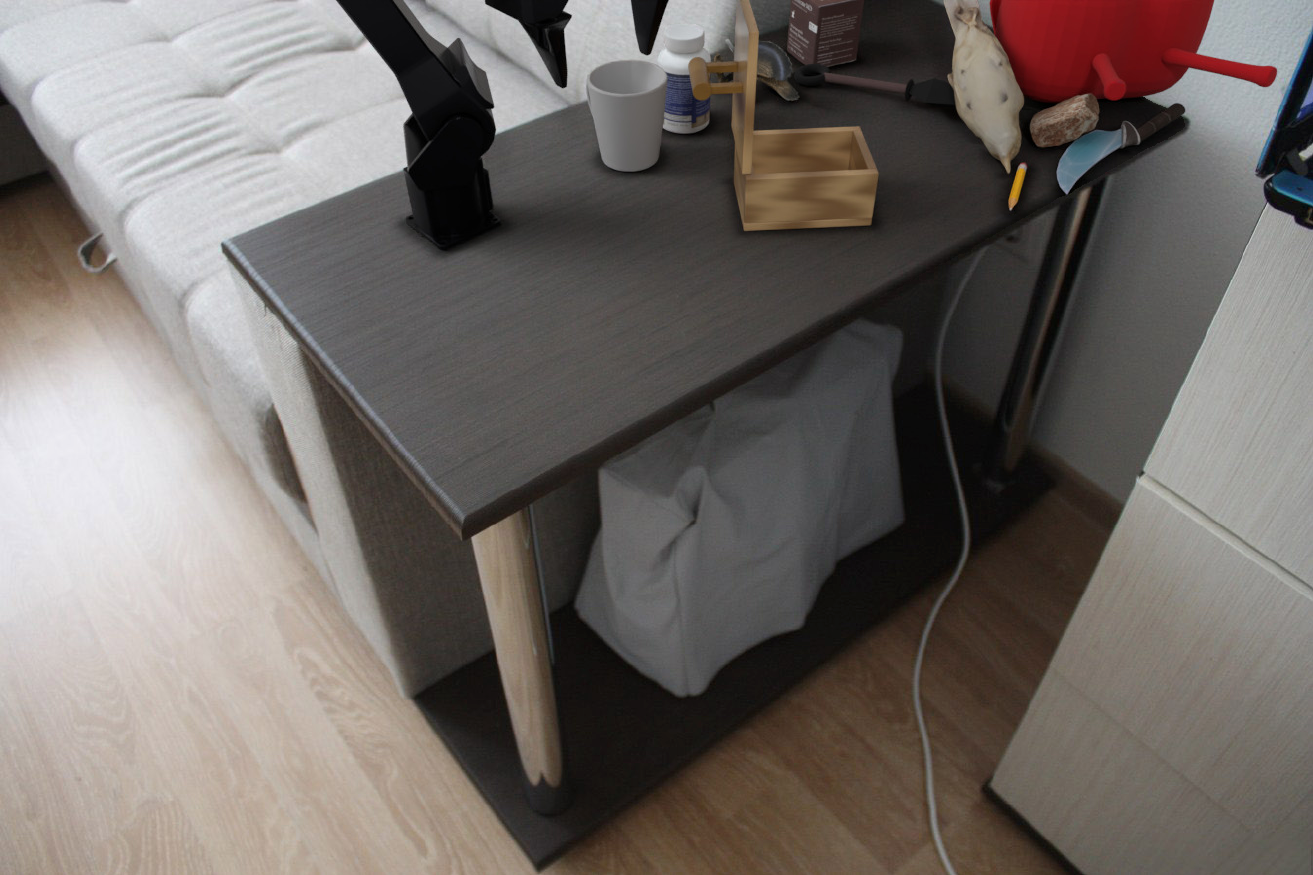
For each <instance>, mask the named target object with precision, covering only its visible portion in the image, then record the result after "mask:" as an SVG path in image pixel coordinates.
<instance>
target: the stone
mask: <svg viewBox="0 0 1313 875" xmlns="http://www.w3.org/2000/svg"><path fill="white" fill-rule="evenodd" d="M1099 107H1100V106H1099V102H1098V99H1096V97H1095V96H1094V95H1092V94H1091V93H1090V94H1084V95H1081V96H1080V95H1077V96H1075V97H1073V98H1070V99H1068V100H1065V101H1062V102H1061V103H1059V104H1055V105H1054V106H1051V107H1047V108H1044V109H1041V110H1042V111H1040V110H1039V111H1038V112H1037V113H1035V114H1033V116H1032V118H1031V120H1030V122H1029V131H1030V135H1031V138H1032V141H1033V142H1034V144H1035V145H1036V147H1039V148H1048V147H1050V148H1051V147H1057V146H1058V147H1059V146H1062V145H1063V144H1066V143H1069V142H1072V141H1076V140H1077V139H1079V138H1080V137H1082V135H1085V134H1087V133H1090V132H1092V131H1094V130H1095V129H1096V127H1097V123H1098V122H1099V119H1100V118H1099V117H1100V116H1099V114H1100V108H1099Z"/></svg>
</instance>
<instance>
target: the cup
mask: <svg viewBox="0 0 1313 875" xmlns="http://www.w3.org/2000/svg"><path fill="white" fill-rule="evenodd" d="M667 80H668V79H667V74H666V72H665V71H664V70H663V69H662V68H661V67H659V66H658V64H655V63H653V62H650V61H645V60H641V59H621V60H620V59H619V60H612V61H609V62H605V63H602V64H600V65H597V66H596V67H595V68H593V69H592V70H591V71H589V73H588V74H587V76H586V81H585V82H586V83H585V92H586V93H585V94H586V99H587V104H588V108H589V110H590V113H591V115H592V119H593V124H594V128H595V134H596V138H597V143H598V147H599V151H600V156H601V160H602V162H603V164H604V165H605V166H607V168H610V169H612V170H615V171H618V172H623V173H635V172H640V171H644V170H647V169H649V168H650V167H652V166H654V165H655V164H656V163H657V162H658V160H659V157H660V151H661V143H662V137H663V136H662V135H663V130H664V128H663V122H664V112H665V101H666V90H667Z"/></svg>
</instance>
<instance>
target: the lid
mask: <svg viewBox="0 0 1313 875" xmlns="http://www.w3.org/2000/svg"><path fill="white" fill-rule="evenodd" d="M734 26H735V27H734V28H735V29H734V47H735V49H734V54H733V60H730V61H724V62H714V61H711V62H706V61H705V60H704V59H703V58H701V57H695V58H693V59H691V60H690V62H689V64H688V69H689V75H690V81H691V86H692V92H693V96H694V97H695V98H696V99H697V100H706V99H708V98H709V97H710V98H711V95H728V94H729V95H732V105H731V130H732V134H733V139H734V145H735V144H736V149H737V153H738V157H739V162H740V166H741V171H742V174H751V168H752V150H753V132H754V131H755V110H756V95H757V94H756V92H757V81H756V77H757V59H758V41H760V38H759V37H760V31H759V28H758V25H757V21H756V19H755V15H754V12H753V8H752V6H751V2H750V0H736V1H735V25H734ZM731 72H734V75H733V80H732V81H730V82H728V83H719V82H711V83H710V79H709V74H708V73H711V74H715V73H731Z"/></svg>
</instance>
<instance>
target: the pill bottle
mask: <svg viewBox="0 0 1313 875" xmlns="http://www.w3.org/2000/svg"><path fill="white" fill-rule="evenodd" d="M705 37H706V36H705V29H704V28H703V27H702V26H700V25H697V24H695V23H688V22H683V23H682V22H681V23H680V22H679V23H674V24H671V25H668V26H667V27H666V28H665V29H664V31H663V44H664V47H665V48H663V49H662V50H661V51H660V53H659V54H658V55H657V56H658V57H657V65H658V66H659V67H661V68H662V69H663V70H664V71H665V72H666V74H667V79H668V80H667V90H666V101H665V112H664V122H663V130H665V131H667V132H670V133H674V134H682V135H683V134H684V135H685V134H694V133H697V132H700V131H702V130H704V129H705V128H707V126H708V125H709V124H710V115H711V96H710V97H709V98H708V99H706V100H697V99H696V98H695V97H694V96H693V92H692V86H691V81H690V75H689V69H688V64H689V62H690V60H691V59H693V58H695V57H701V58H703V59H704V60H705V61H706V62H712V58H711V57H712V56H711V54H710V53H709V51H708V50H707V49H706V48H704V46H705V42H706V41H705V40H706V39H705ZM708 74H709V79H710V83H712V79H711V77H712V73H708Z"/></svg>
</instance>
